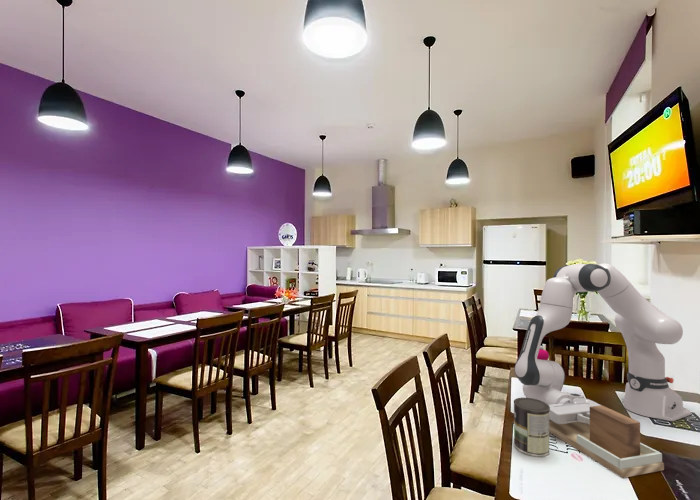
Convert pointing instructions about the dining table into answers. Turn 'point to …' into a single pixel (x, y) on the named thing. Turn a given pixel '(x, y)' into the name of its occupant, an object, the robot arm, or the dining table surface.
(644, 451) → the sage frame
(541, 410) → the coffee can
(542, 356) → the pepper mill
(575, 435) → the birch board
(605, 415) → the walnut box
